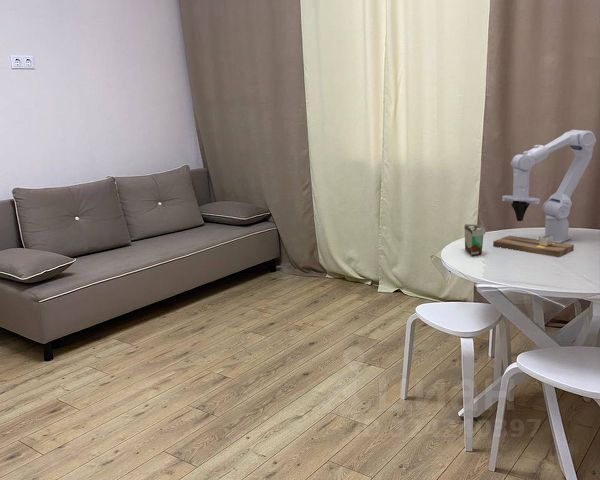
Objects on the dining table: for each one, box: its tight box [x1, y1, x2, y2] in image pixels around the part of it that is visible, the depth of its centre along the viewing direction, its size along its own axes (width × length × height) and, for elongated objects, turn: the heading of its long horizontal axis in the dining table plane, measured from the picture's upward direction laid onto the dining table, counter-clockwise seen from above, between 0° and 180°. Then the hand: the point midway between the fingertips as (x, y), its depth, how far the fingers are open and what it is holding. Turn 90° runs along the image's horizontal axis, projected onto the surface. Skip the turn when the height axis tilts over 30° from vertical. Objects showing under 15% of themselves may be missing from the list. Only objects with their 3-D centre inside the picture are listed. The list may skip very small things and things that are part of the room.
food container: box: [463, 223, 486, 257], centre depth 224 cm, size 12×6×10 cm, turn 179°
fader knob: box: [539, 234, 553, 246], centre depth 223 cm, size 4×3×3 cm
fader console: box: [492, 235, 575, 258], centre depth 227 cm, size 12×26×2 cm, turn 42°
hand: (519, 220), depth 232 cm, fingers closed
